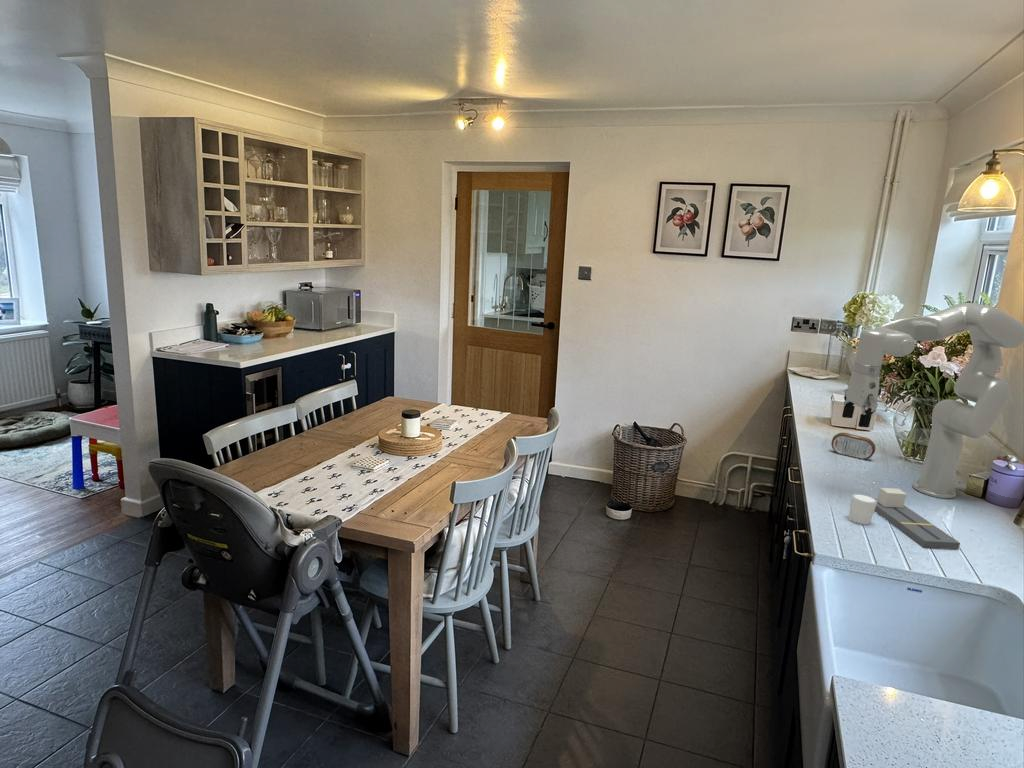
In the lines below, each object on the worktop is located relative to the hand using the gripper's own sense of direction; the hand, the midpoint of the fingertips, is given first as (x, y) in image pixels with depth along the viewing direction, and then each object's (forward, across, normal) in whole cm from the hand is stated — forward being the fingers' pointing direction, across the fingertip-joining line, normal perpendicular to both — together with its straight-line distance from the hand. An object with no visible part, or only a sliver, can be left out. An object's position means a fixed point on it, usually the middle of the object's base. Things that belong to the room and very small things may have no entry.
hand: (855, 422), depth 215 cm
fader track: (+24, -23, -9) cm, 34 cm away
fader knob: (+22, -13, -8) cm, 27 cm away
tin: (+24, +38, -24) cm, 51 cm away
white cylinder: (+24, -22, +5) cm, 33 cm away
